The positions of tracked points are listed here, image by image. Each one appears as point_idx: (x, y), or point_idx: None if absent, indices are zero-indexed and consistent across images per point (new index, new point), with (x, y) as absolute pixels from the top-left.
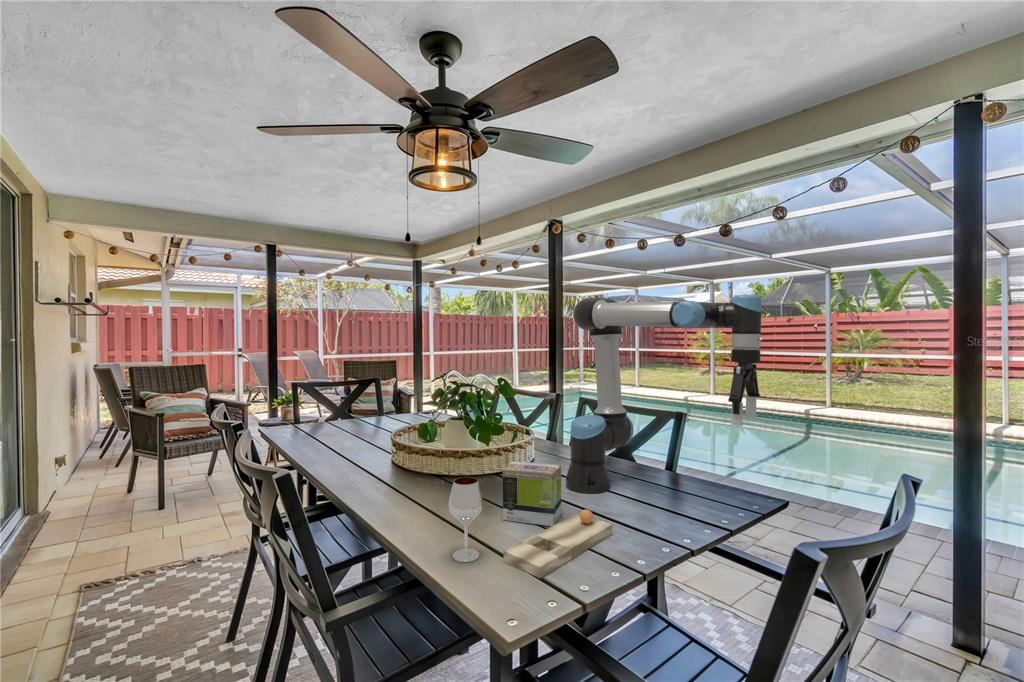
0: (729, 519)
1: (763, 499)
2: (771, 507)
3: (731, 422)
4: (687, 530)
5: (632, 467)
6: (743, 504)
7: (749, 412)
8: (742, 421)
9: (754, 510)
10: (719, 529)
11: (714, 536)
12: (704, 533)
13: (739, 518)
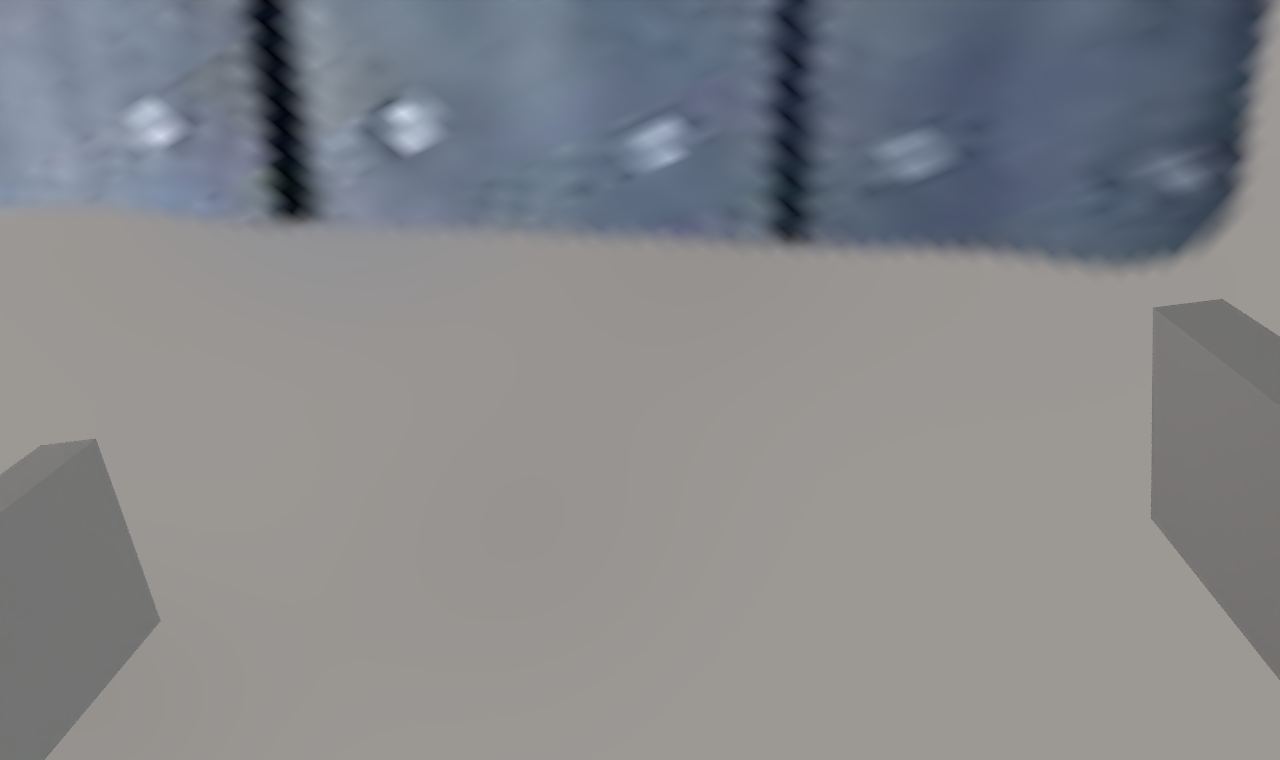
0: (479, 134)
1: (1158, 126)
2: (994, 249)
3: (8, 471)
4: (31, 21)
5: None
6: (895, 60)
7: (1215, 461)
8: (106, 679)
9: (820, 184)
10: (248, 171)
11: (117, 203)
12: (98, 132)
13: (560, 177)
